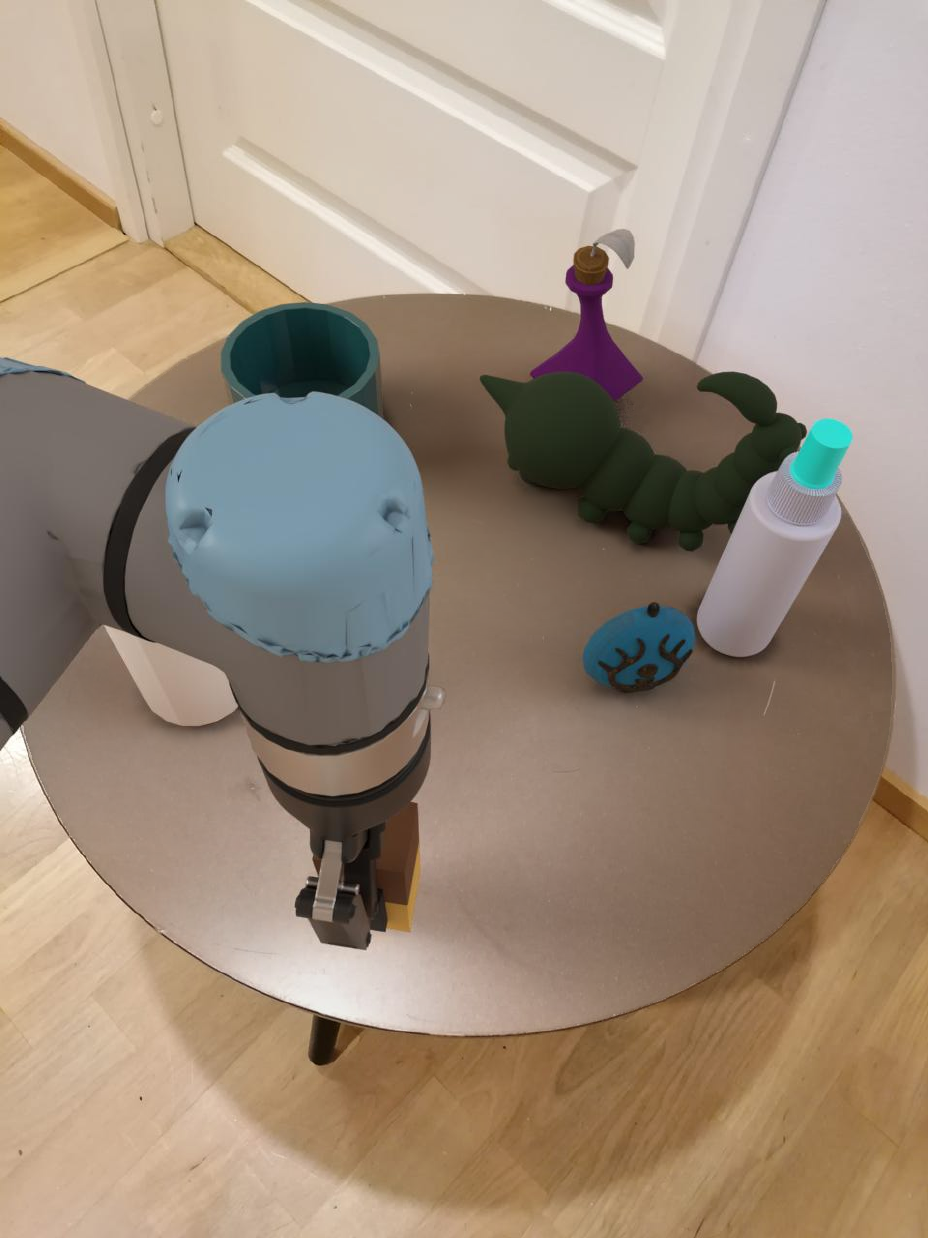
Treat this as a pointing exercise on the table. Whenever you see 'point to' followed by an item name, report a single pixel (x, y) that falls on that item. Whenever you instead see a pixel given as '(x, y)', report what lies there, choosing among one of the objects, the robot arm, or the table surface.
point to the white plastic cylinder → (175, 681)
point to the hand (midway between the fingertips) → (372, 885)
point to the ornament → (640, 648)
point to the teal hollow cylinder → (303, 355)
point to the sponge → (398, 867)
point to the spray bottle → (775, 544)
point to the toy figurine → (638, 453)
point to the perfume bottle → (595, 320)
